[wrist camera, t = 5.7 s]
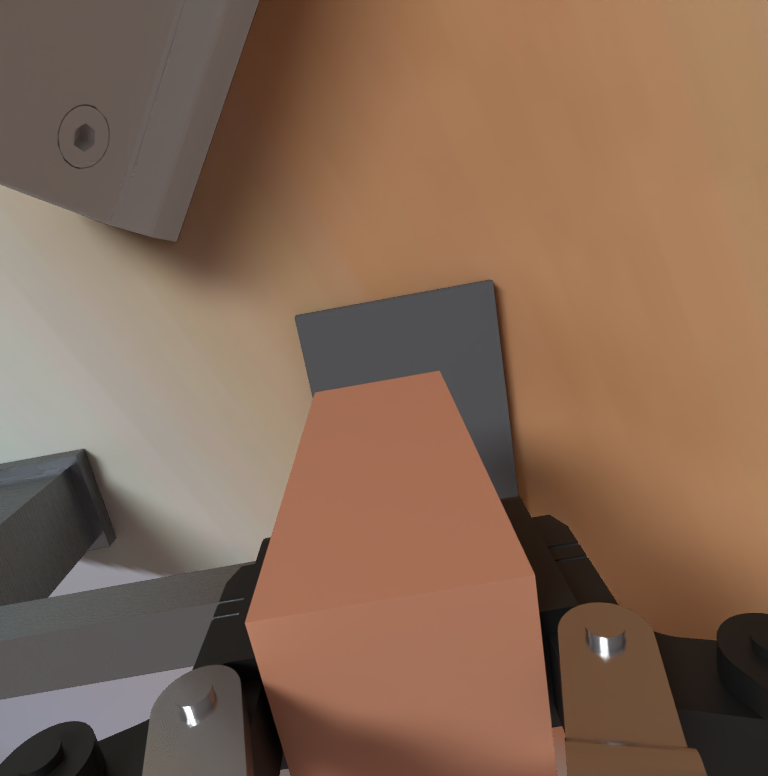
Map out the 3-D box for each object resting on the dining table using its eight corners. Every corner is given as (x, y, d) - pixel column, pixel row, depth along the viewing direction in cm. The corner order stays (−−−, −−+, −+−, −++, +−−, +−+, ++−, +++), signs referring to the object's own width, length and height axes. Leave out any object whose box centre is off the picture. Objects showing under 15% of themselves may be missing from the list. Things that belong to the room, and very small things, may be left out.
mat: (490, 279, 25) (492, 281, 25) (521, 544, 29) (525, 550, 29) (296, 315, 26) (294, 317, 25) (354, 573, 30) (354, 580, 29)
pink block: (439, 370, 18) (534, 574, 8) (481, 650, 21) (588, 1056, 11) (315, 392, 18) (245, 622, 8) (376, 668, 21) (383, 1085, 11)
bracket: (337, 402, 27) (313, 572, 14) (356, 494, 28) (351, 726, 15) (-17, 467, 27) (-363, 691, 14) (20, 554, 29) (-263, 831, 16)
